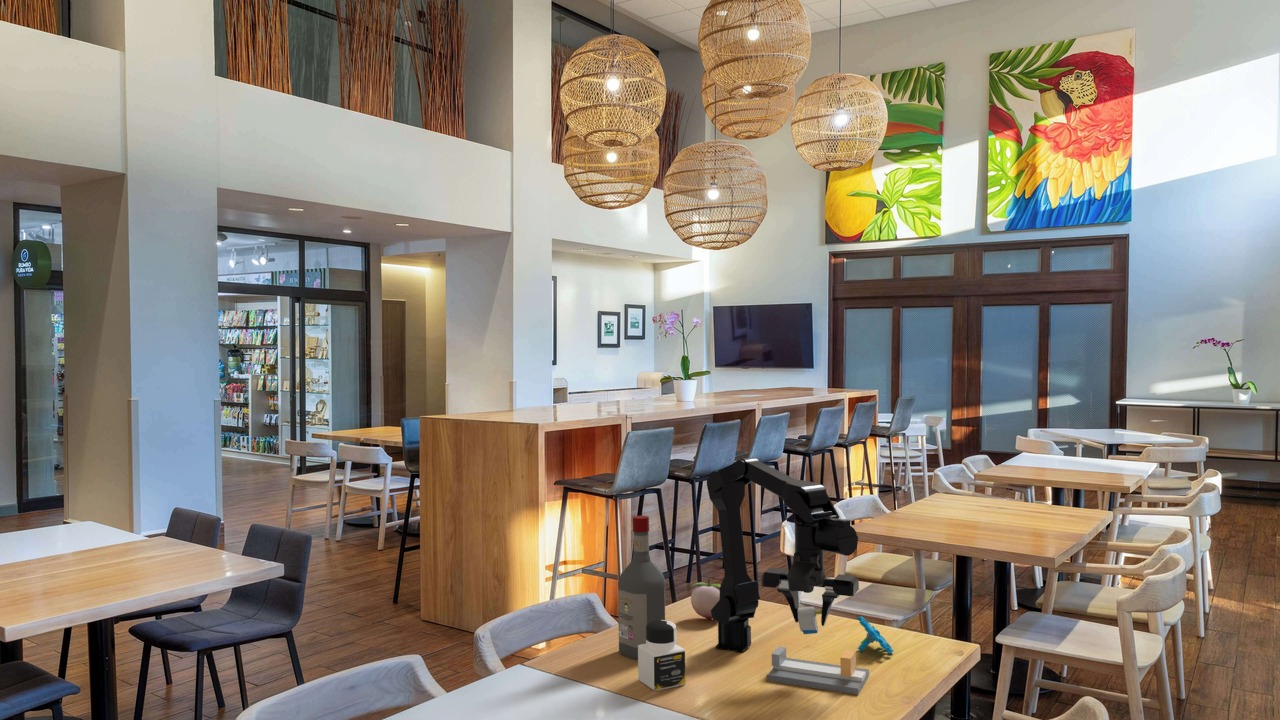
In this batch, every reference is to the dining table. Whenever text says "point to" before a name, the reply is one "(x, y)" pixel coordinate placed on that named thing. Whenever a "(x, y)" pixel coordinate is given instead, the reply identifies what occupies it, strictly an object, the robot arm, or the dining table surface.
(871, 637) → the gear
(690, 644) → the dining table surface
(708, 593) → the decorative fruit
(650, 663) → the medicine bottle
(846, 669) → the tall tan wooden block
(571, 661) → the dining table surface
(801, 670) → the rail
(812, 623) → the electric motor
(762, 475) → the robot arm
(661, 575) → the liquor
